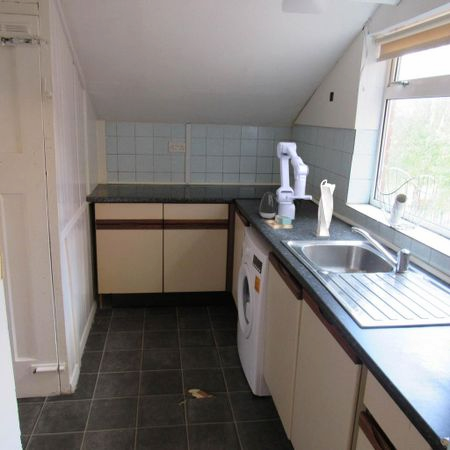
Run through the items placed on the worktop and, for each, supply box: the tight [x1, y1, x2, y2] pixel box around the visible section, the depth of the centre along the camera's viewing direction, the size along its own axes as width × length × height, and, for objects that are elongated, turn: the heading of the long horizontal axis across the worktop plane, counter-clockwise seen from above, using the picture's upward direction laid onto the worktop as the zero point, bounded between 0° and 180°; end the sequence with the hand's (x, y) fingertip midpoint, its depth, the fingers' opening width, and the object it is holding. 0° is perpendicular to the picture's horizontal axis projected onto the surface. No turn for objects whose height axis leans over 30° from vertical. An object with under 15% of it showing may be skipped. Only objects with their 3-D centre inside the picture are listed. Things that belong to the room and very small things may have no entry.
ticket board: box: [264, 214, 293, 230], centre depth 238 cm, size 11×13×5 cm
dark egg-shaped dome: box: [258, 191, 278, 219], centre depth 255 cm, size 10×10×15 cm
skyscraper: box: [312, 179, 336, 239], centre depth 218 cm, size 8×8×28 cm
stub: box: [279, 217, 293, 225], centre depth 236 cm, size 5×5×3 cm
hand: (297, 212), depth 236 cm, fingers closed
